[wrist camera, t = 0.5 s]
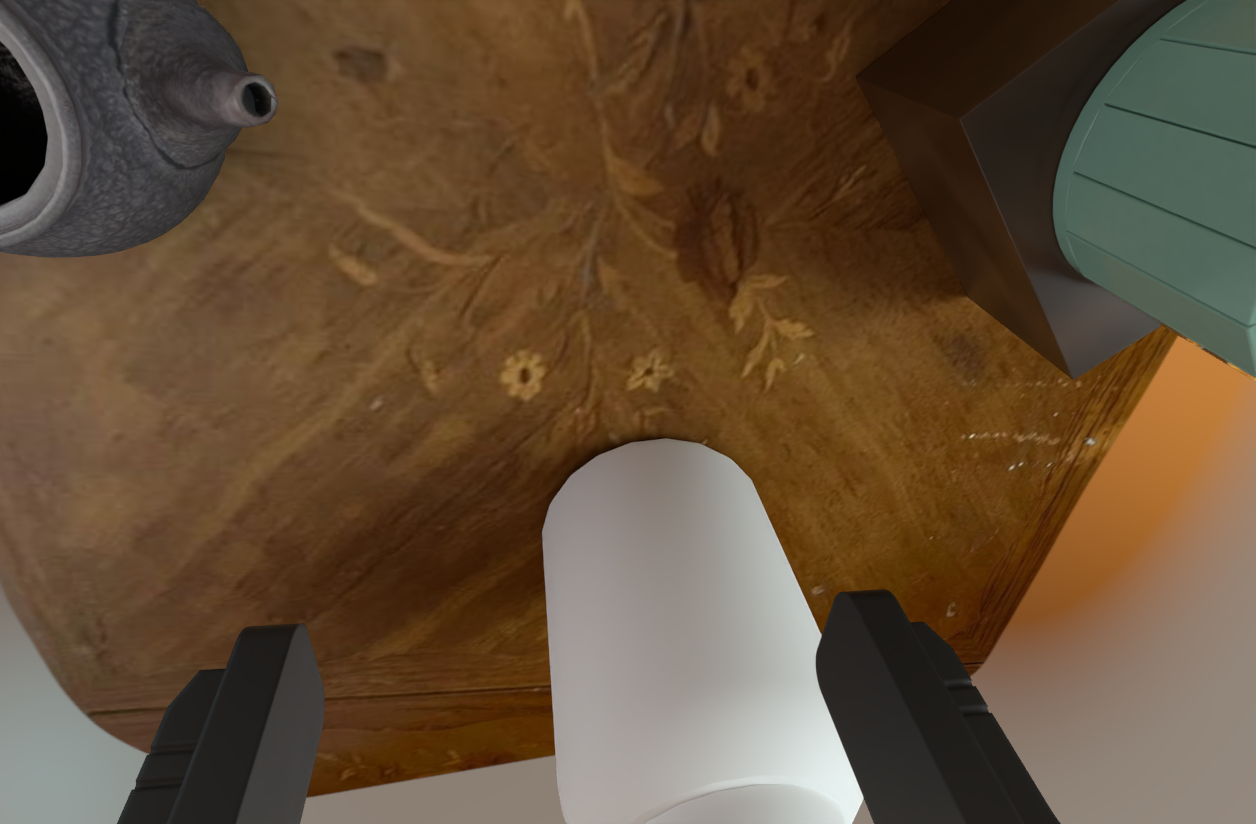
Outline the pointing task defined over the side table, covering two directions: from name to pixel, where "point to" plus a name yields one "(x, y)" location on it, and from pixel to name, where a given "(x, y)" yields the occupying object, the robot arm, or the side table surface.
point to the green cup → (1172, 179)
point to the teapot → (114, 120)
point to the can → (683, 651)
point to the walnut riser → (1009, 154)
